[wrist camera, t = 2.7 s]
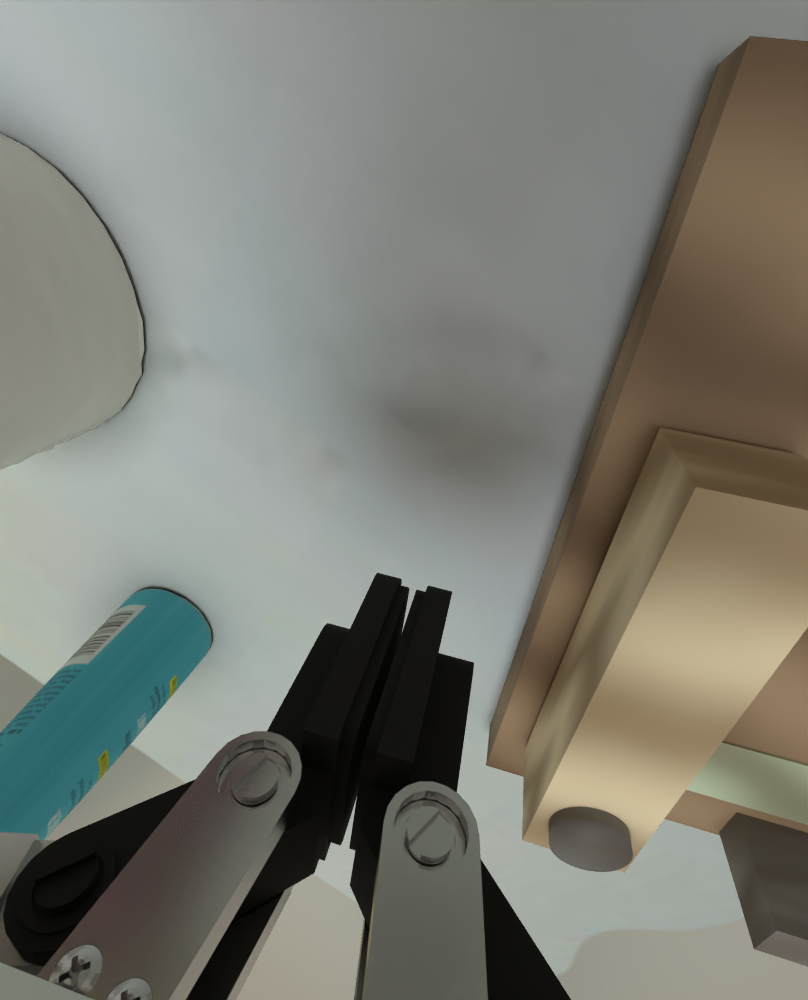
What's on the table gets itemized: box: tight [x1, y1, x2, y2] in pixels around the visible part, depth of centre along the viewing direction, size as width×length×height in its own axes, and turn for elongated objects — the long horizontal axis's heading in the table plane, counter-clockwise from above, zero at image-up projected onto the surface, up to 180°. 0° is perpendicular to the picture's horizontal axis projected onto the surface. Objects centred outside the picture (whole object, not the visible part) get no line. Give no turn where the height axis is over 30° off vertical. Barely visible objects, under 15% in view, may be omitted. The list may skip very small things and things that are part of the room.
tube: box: [0, 589, 212, 840], centre depth 18 cm, size 7×5×19 cm, turn 148°
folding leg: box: [522, 427, 808, 872], centre depth 15 cm, size 15×4×4 cm, turn 173°
